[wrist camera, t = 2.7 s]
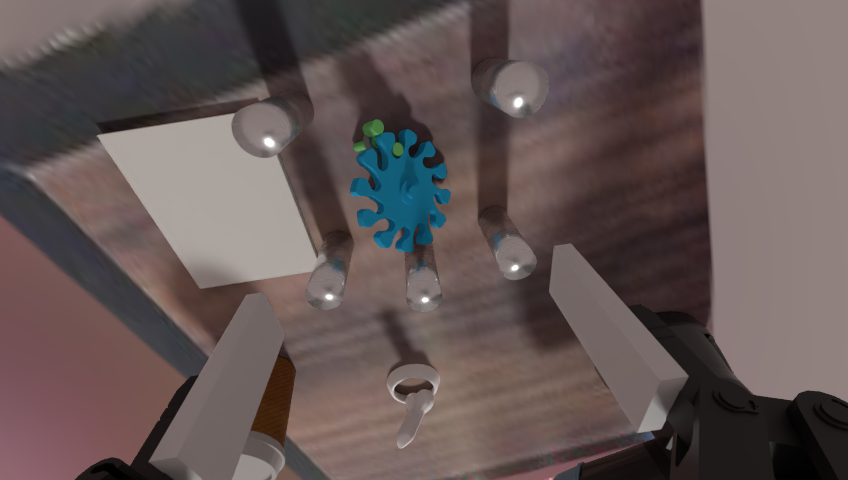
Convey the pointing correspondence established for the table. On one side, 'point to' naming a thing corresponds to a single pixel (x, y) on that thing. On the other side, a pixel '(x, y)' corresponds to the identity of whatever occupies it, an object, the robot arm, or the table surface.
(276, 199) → the rubber mat
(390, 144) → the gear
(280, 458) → the disposable coffee cup
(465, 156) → the table surface
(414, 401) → the hook
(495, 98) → the spacer posts
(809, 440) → the robot arm
